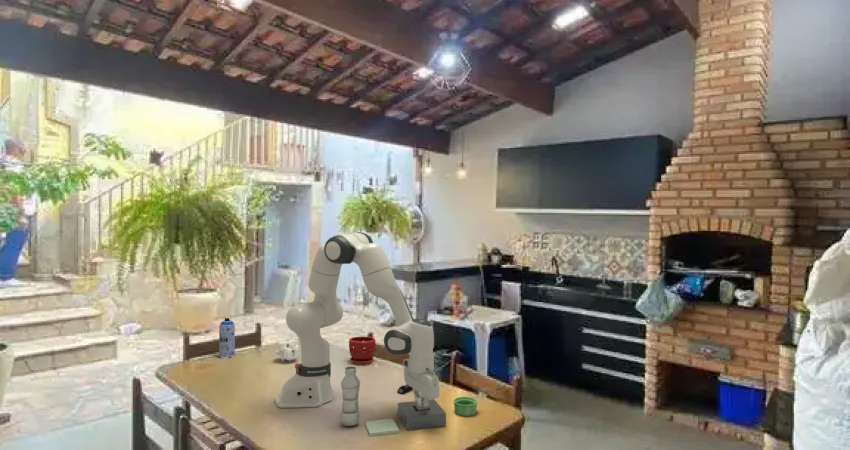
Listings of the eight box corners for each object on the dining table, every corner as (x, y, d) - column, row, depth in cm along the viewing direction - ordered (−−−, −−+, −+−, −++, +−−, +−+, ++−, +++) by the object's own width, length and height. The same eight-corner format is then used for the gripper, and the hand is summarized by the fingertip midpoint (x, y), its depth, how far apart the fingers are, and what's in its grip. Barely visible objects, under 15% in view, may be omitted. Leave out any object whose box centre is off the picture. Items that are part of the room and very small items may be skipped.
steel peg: (417, 423, 178) (417, 397, 177) (414, 418, 181) (414, 394, 181) (428, 422, 179) (428, 396, 178) (425, 417, 182) (425, 393, 182)
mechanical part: (291, 356, 261) (291, 333, 261) (303, 361, 252) (303, 338, 252) (271, 360, 254) (271, 337, 253) (282, 365, 245) (282, 341, 244)
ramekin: (470, 419, 182) (470, 407, 182) (449, 413, 186) (449, 402, 186) (481, 411, 189) (481, 399, 189) (460, 406, 194) (460, 394, 194)
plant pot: (373, 366, 245) (373, 341, 245) (347, 366, 245) (347, 341, 245) (376, 358, 258) (376, 335, 258) (351, 358, 258) (351, 335, 258)
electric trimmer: (427, 386, 218) (427, 379, 218) (403, 395, 206) (403, 387, 206) (420, 384, 220) (420, 377, 220) (396, 393, 208) (396, 385, 208)
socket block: (407, 430, 171) (407, 417, 171) (397, 415, 185) (397, 402, 185) (446, 426, 175) (446, 413, 175) (434, 411, 189) (434, 399, 189)
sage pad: (369, 436, 167) (369, 433, 167) (364, 424, 176) (364, 421, 176) (399, 432, 170) (399, 429, 169) (392, 421, 179) (392, 418, 179)
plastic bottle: (341, 421, 179) (341, 365, 178) (360, 420, 179) (360, 365, 179) (339, 429, 172) (339, 371, 172) (359, 428, 173) (359, 370, 173)
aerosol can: (215, 358, 258) (215, 319, 257) (224, 354, 265) (224, 316, 265) (229, 358, 256) (229, 319, 256) (238, 354, 264) (238, 316, 264)
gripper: (444, 371, 172) (443, 411, 172) (416, 356, 190) (416, 393, 190) (428, 374, 169) (427, 415, 169) (401, 359, 187) (401, 396, 187)
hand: (421, 403), depth 180 cm, fingers closed on steel peg, 4 cm apart
